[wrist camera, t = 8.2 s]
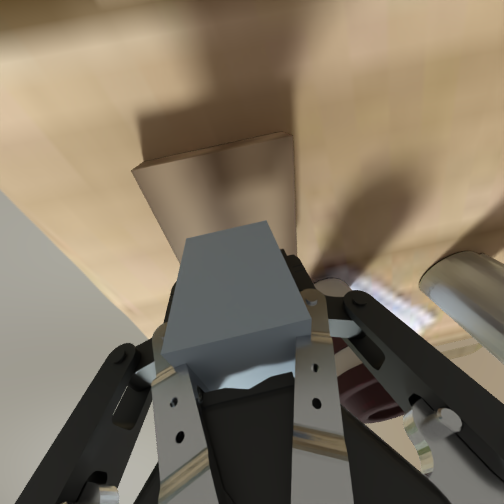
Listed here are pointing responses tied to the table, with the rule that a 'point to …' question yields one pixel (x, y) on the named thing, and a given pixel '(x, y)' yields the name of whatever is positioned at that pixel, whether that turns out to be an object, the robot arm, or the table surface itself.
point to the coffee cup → (357, 374)
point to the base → (224, 190)
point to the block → (235, 309)
